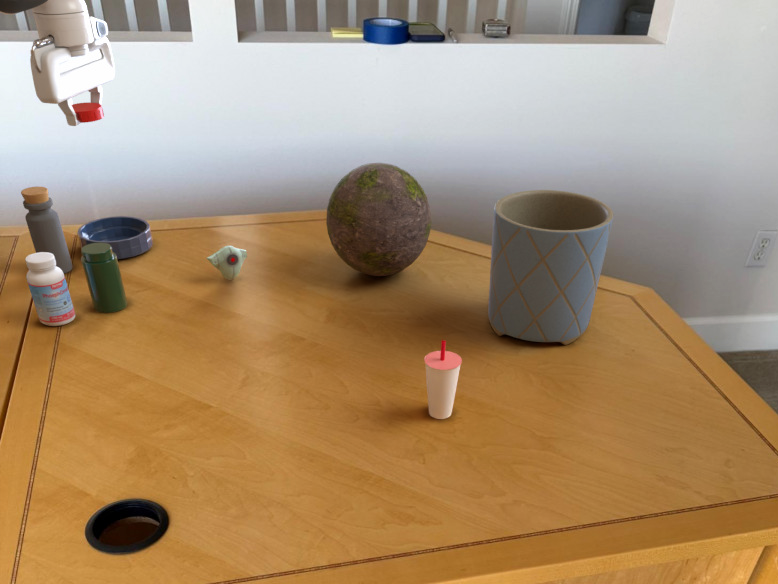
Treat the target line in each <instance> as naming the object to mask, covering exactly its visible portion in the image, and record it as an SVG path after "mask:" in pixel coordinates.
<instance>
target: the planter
mask: <svg viewBox="0 0 778 584" xmlns="http://www.w3.org/2000/svg"><path fill="white" fill-rule="evenodd" d="M613 221H614V211H613V210H612V209H611V208H610V206H608V205H607V204H606V203H605V202H602V201H601V200H599V199H596V198H594V197H591V196H587V195H584V194H581V193H577V192H571V191H565V190H554V189H535V190H534V189H533V190H523V191H518V192H514V193H510V194H508V195H505V196H503V197H501V198H499V199H498V200H497V201H496V202H495V204H494V207H493V221H492V237H491V250H490V251H491V252H490V273H489V291H488V304H487V305H488V306H487V307H488V308H487V314H488V315H487V316H488V321H489V323H490V324H489V325H490V326H491V328H492V329H493V331H494V332H495V333H496V334H497V336H499V337H501V336H503V335H507V336H508V337H509V336H510V337H512V338H514V339H515V338H516V339H519V340H523V341H529V342H534V343H535V342H537V343H538V342H539V343H561V344H562V345H564V346H567V345H569V344H572V343H573V342H575V341H576V340H578V339H579V338H580V337H581V336H582V335H583V334H584V333H585V332H586V330H588V327H589V325H590V322H591V318H592V313H593V309H594V304H595V301H596V296H597V291H598V286H599V282H600V278H601V274H602V270H603V266H604V261H605V257H606V252H607V248H608V243H609V238H610V234H611V230H612V225H613Z"/></svg>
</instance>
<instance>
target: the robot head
mask: <svg viewBox="0 0 778 584" xmlns="http://www.w3.org/2000/svg"><path fill="white" fill-rule="evenodd" d="M247 258H248V253H247V250H246V249H243V248H238V247H234V246H233V245H225V246H223V247H221V248H220V249H218V250H217V251H215V252H214V253H213V254H211V255H209V256H207V257H206V259H207V261H208V262H209V263H210V264H211V265H212V266H213V267H214V268H215V269H216V270H217V271H219V272H220V273H221V275H222V276H223V277H224V278H225V279H226V280H235V279H236V278H238V276H239V275H240V273H241V270H242V266H243V265H244V262H245V260H246V259H247Z"/></svg>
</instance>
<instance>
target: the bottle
mask: <svg viewBox="0 0 778 584" xmlns="http://www.w3.org/2000/svg"><path fill="white" fill-rule="evenodd" d="M20 194H21V196H22V198H23V201H22V205H23V208H24V209H25V210H27V211H28V212H27V213H26V214H25V218H24V219H25V221H26V225H27V228H28V233H29V235H30V238H31V241H32V244H33V247H34V248H33V249H34V251H35V253H38V252H49V253H52V254H53V255H54V257H55V260H56V266H57V267H59V268H60V269H61V270H62V271H63V273H64V274H67V273H69V272H71V271H72V269H73V268H74V267H73V263H72V259H71V256H70V252H69V248H68V244H67V241H66V237H65V233H64V230H63V226H62V223H61V219H60V217H59V214H58V212H57V211H56V210H54V209H52V206H53V204H54V202H53V199H52V198H51V197H50V196H49V189H48V188H47V187H45V186H29V187H26V188H24V189H22V190H21V191H20Z"/></svg>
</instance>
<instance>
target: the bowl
mask: <svg viewBox="0 0 778 584" xmlns="http://www.w3.org/2000/svg"><path fill="white" fill-rule="evenodd" d="M76 235H77V239H78V242H79V246H80V250H81V249H82V248H83V247H84V246H86V245H88V244H92V243H107V244H109V245H111V248H112V252H114V253H115V254H116V256H117V260H122V259H127V258H133V257H136V256H139V255H142V254H144V253H146V252H147V251H149V250H150V249H151V248H152V247H153V246H154V240H153V233H152V230H151V225H150V223H149V222H148V221H147V220H145V219H142V218H140V217H135V216H129V215H127V216H124V215H119V216H117V215H116V216H107V217H100V218H97V219H93V220H91V221H88V222H86V223H84V224H82V225H81V226H80V227H79V228H78V229H77V232H76Z"/></svg>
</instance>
